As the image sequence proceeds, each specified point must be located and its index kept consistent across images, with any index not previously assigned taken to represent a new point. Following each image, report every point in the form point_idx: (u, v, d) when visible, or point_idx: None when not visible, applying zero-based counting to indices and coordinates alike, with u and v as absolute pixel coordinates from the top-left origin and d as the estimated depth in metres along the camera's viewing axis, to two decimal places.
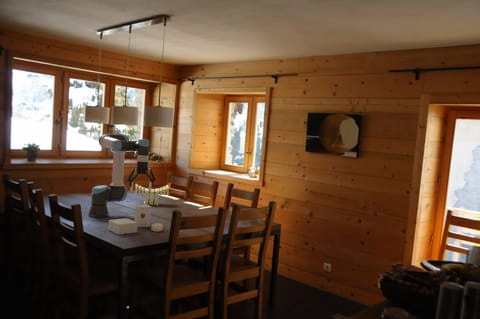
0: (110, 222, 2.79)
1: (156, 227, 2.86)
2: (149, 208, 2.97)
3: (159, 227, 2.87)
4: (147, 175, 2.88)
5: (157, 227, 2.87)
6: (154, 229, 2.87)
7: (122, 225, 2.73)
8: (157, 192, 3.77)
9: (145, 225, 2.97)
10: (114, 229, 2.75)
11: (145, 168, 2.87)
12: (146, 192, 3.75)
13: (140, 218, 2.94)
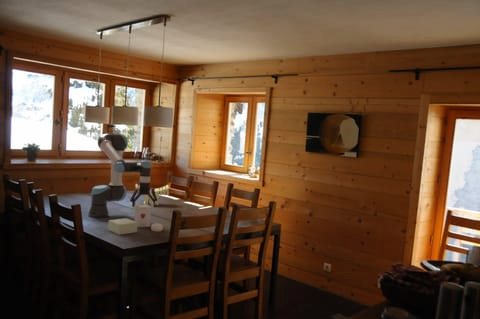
0: (110, 222, 2.79)
1: (156, 227, 2.86)
2: (149, 208, 2.97)
3: (159, 227, 2.87)
4: (149, 195, 2.99)
5: (157, 227, 2.87)
6: (154, 229, 2.87)
7: (123, 225, 2.73)
8: (157, 192, 3.77)
9: (145, 225, 2.97)
10: (114, 229, 2.75)
11: (147, 188, 2.98)
12: None
13: (140, 218, 2.94)
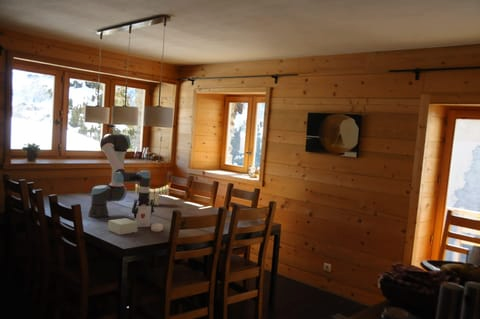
0: (110, 222, 2.79)
1: (156, 227, 2.86)
2: (149, 208, 2.97)
3: (159, 227, 2.87)
4: None
5: (157, 227, 2.87)
6: (154, 229, 2.87)
7: (123, 225, 2.73)
8: (157, 192, 3.77)
9: (145, 225, 2.97)
10: (115, 229, 2.75)
11: (147, 198, 2.99)
12: None
13: (140, 218, 2.94)
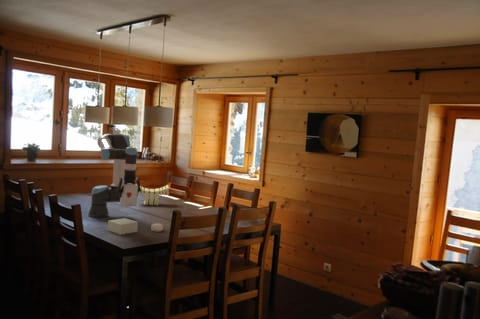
0: (110, 222, 2.78)
1: (156, 227, 2.86)
2: (136, 187, 2.81)
3: (159, 227, 2.87)
4: None
5: (157, 227, 2.87)
6: (154, 229, 2.87)
7: (124, 225, 2.73)
8: (157, 192, 3.77)
9: (131, 205, 2.80)
10: (115, 229, 2.74)
11: (133, 176, 2.82)
12: (146, 192, 3.75)
13: (126, 197, 2.77)
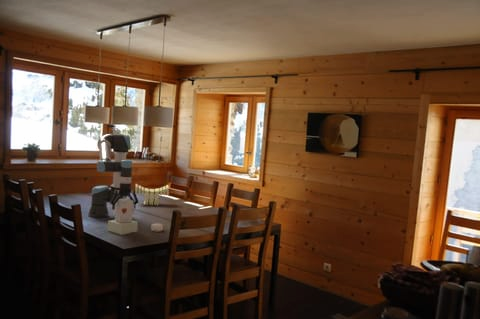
0: (110, 223, 2.78)
1: (156, 227, 2.86)
2: (131, 202, 2.78)
3: (159, 227, 2.87)
4: (130, 197, 2.81)
5: (157, 227, 2.87)
6: (154, 229, 2.87)
7: (125, 225, 2.74)
8: (157, 192, 3.77)
9: (126, 220, 2.78)
10: (116, 229, 2.74)
11: (128, 190, 2.80)
12: (146, 192, 3.75)
13: (121, 212, 2.75)
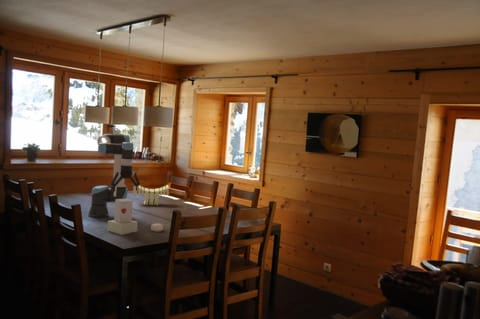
0: (110, 223, 2.77)
1: (156, 227, 2.86)
2: (130, 202, 2.78)
3: (159, 227, 2.87)
4: (131, 179, 2.80)
5: (157, 227, 2.87)
6: (154, 229, 2.87)
7: (125, 225, 2.74)
8: (157, 192, 3.77)
9: (126, 220, 2.78)
10: (116, 229, 2.74)
11: (129, 172, 2.79)
12: (146, 192, 3.75)
13: (121, 213, 2.75)
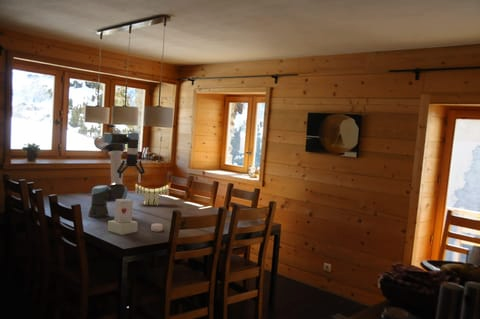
0: (110, 223, 2.77)
1: (156, 227, 2.86)
2: (130, 202, 2.79)
3: (159, 227, 2.87)
4: (136, 167, 2.98)
5: (157, 227, 2.87)
6: (154, 229, 2.87)
7: (125, 225, 2.74)
8: (157, 192, 3.77)
9: (126, 220, 2.78)
10: (116, 229, 2.74)
11: (134, 160, 2.96)
12: (146, 192, 3.75)
13: (121, 213, 2.75)
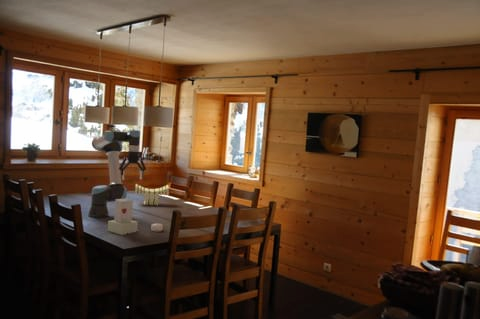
0: (110, 223, 2.77)
1: (156, 227, 2.86)
2: (131, 202, 2.79)
3: (159, 227, 2.87)
4: (138, 164, 3.03)
5: (157, 227, 2.87)
6: (154, 229, 2.87)
7: (125, 225, 2.74)
8: (157, 192, 3.77)
9: (127, 220, 2.78)
10: (116, 229, 2.74)
11: (136, 157, 3.01)
12: (146, 192, 3.75)
13: (121, 213, 2.75)
